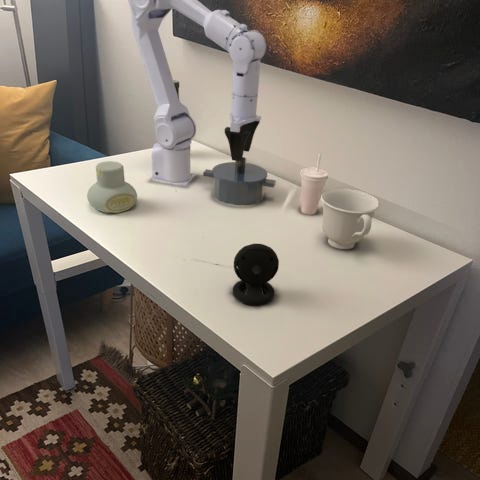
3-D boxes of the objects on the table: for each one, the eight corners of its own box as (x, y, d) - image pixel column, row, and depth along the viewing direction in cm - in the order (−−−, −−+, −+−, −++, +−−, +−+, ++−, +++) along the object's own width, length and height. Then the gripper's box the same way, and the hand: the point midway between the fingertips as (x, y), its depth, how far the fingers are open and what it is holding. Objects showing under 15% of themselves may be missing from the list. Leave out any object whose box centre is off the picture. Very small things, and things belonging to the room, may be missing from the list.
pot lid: (260, 190, 115) (261, 171, 112) (204, 181, 117) (205, 162, 115) (272, 171, 125) (273, 154, 123) (221, 163, 128) (221, 146, 125)
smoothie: (323, 217, 118) (333, 158, 109) (296, 216, 118) (304, 156, 109) (320, 206, 123) (329, 149, 115) (294, 204, 123) (302, 147, 114)
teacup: (332, 266, 99) (342, 220, 94) (305, 232, 111) (311, 189, 105) (386, 261, 103) (398, 216, 97) (354, 228, 114) (363, 186, 108)
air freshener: (98, 220, 109) (93, 175, 103) (83, 206, 114) (77, 163, 108) (143, 210, 115) (141, 167, 109) (127, 197, 120) (124, 156, 114)
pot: (267, 212, 118) (270, 188, 114) (196, 200, 121) (196, 176, 117) (277, 193, 128) (280, 170, 124) (211, 182, 131) (212, 160, 127)
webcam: (272, 283, 93) (278, 235, 87) (276, 307, 87) (283, 256, 81) (231, 282, 92) (234, 233, 86) (232, 305, 86) (235, 254, 80)
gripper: (254, 103, 104) (249, 167, 112) (269, 89, 115) (263, 148, 123) (222, 99, 105) (219, 163, 113) (239, 86, 116) (236, 144, 124)
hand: (240, 155), depth 118 cm, fingers open, 7 cm apart
